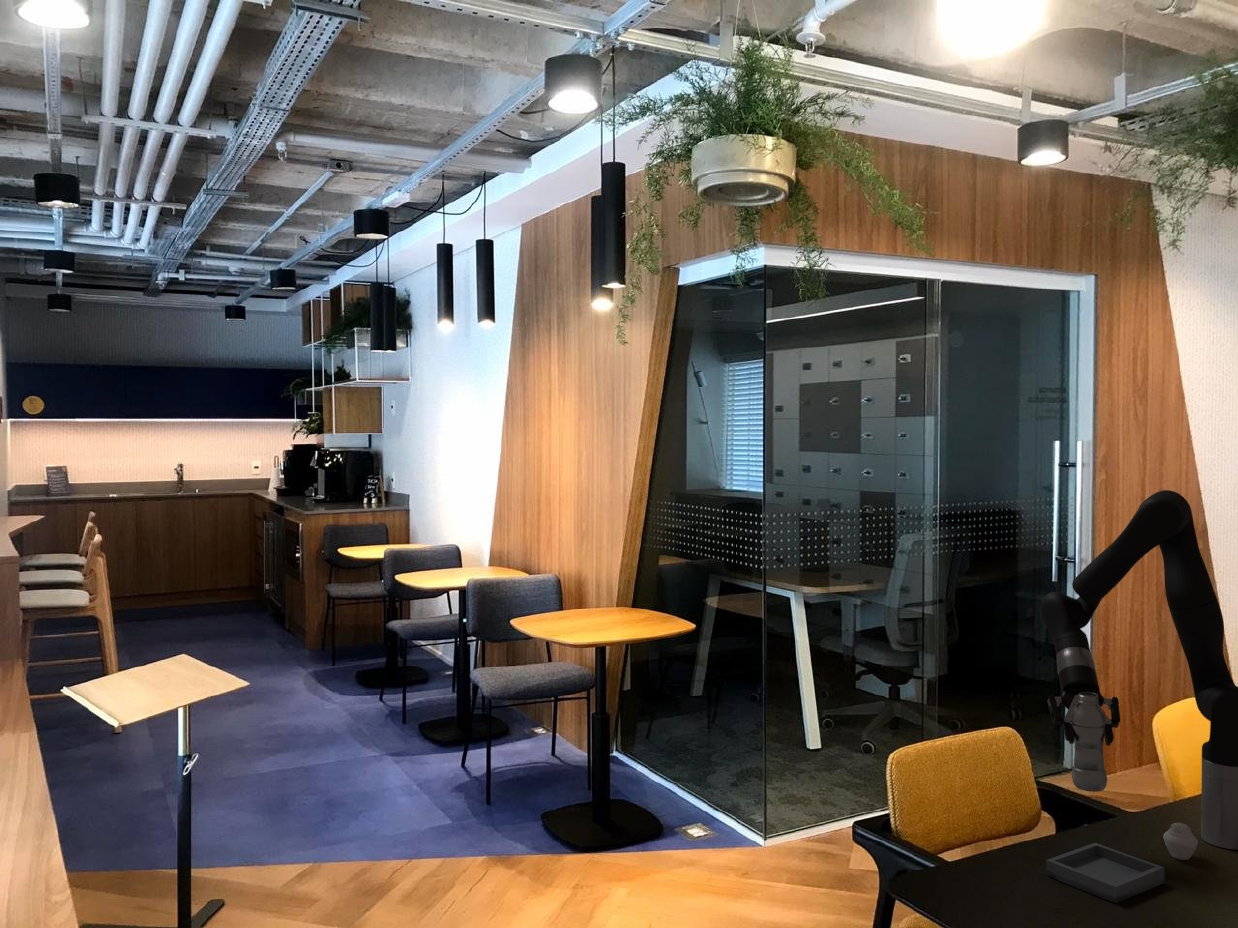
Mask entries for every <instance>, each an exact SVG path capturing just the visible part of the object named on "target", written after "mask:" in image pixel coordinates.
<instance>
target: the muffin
mask: <svg viewBox="0 0 1238 928" xmlns="http://www.w3.org/2000/svg"><path fill="white" fill-rule="evenodd" d="M1162 836H1163V840H1164V844H1165V846H1166V848H1167V850H1168V852H1169V854H1170V856H1171V857H1172V858H1174V859H1175V860H1180V861H1181V860H1182V861H1188V860H1189V859H1191V857H1192V856H1193V854H1194V853H1195V851H1196V850H1197V847H1198V845H1199V841H1198V838H1197V837H1195V835H1194V834H1193V832H1192V830H1191V828H1190V826H1189V825H1188V824H1185V823H1183V822H1174V823H1172V824H1171V825H1170V827H1169V829H1168V830H1166V832H1164V833H1163V835H1162Z"/></svg>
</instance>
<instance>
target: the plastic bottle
mask: <svg viewBox="0 0 1238 928" xmlns="http://www.w3.org/2000/svg"><path fill="white" fill-rule="evenodd" d="M1078 703H1079V706H1078V707H1077V708H1076V709H1075V711H1074V712H1073V713H1072V716H1071V723H1072V728H1073V734H1074V743H1073V745H1074V746H1073V747H1074V756H1073V766H1072V768H1071V769H1072V770H1071V779H1072V784H1073V785H1074V787H1076V788H1077V789H1079V790H1081V791H1085V792H1093V793H1094V792H1095V793H1097V792H1098V793H1099V792H1102V791H1104V790H1106V788H1107V786H1108V785H1107V784H1108V775H1107V770H1106V768H1105V758H1104V743H1105V738H1104V732H1105V725H1106V721H1105V718H1104V716H1103V714H1102V712H1101V711H1100V710H1099V708H1098V707H1097V705H1098V704H1099V702H1098V695H1097V694H1094V693H1087V692H1083V693H1079V694H1078Z"/></svg>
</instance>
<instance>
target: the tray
mask: <svg viewBox="0 0 1238 928" xmlns="http://www.w3.org/2000/svg"><path fill="white" fill-rule="evenodd" d="M1045 862H1046V865H1045V866H1046V867H1045V870H1046V873H1045V876H1047V877H1049V878H1052V879H1055V880H1057V881H1058V882H1062V883H1064V884H1065V885H1066V884H1067V885H1069V886H1071V887H1073V888H1076V889H1079V890H1081V891H1083V892H1087V893H1089V894H1091V895H1094V896H1096V897H1099V898H1102V899H1103V900H1106V901H1108V902H1110V903H1113V904H1118V903H1120V902H1122V901H1125V900H1127V899H1130V898H1132V897H1135V896H1137V895H1140V894H1141V893H1144V892H1146V891H1149V890H1151V889H1154V888H1157V887H1158V886H1161V885H1163V884H1165V867H1164V866H1162V865H1159V864H1156V863H1153V862H1150V861H1147V860H1144V859H1141V858H1140V857H1137V856H1133V855H1130V854H1129V853H1128V854H1127V853H1126V852H1122V851H1119V850H1117V849H1114V848H1111V847H1109V846H1105V845H1103V844H1100V843H1097V842H1093V843H1091V844H1090V843H1089V844H1088V845H1084V846H1082V847H1080V848H1077V849H1074V850H1071V851H1068V852H1065V853H1062V854H1060V855H1056V856H1054V857H1051V858H1049V859H1046V861H1045Z"/></svg>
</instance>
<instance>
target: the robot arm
mask: <svg viewBox="0 0 1238 928" xmlns="http://www.w3.org/2000/svg"><path fill="white" fill-rule="evenodd" d="M1193 516H1194V515H1193V512H1192V507H1191V506H1190V504H1189V502H1188V500H1187V499H1186V498H1185V497H1184V496H1183V495H1181V494H1180V493H1179V492H1176V491H1174V490H1167V489H1165V490H1160V491H1156V492H1154V493H1153V494H1151V495H1150V496H1148V497H1147V498H1146V499H1145V500H1143V501H1142V502H1141V504H1140V505H1139V507H1138V509H1137V510H1136V512H1135V513H1134V514H1133V517H1132V518H1131V519H1130V521H1129V522H1128V524H1127V525H1126V527H1125V528H1124V529H1123V530H1122V532H1121V533H1120V534H1119V535H1118V537H1117V538H1116V539H1114V541H1113V542H1112V543H1111V544H1109V545H1108V546H1107V547H1106V548H1105V549H1104V550H1103V551H1102V552H1101V553H1099V554H1098V555H1097V556H1096V557H1095V558H1094V559H1093V560H1092V561H1091V562H1089V563H1088V565H1086V566H1085V567H1084V568H1083V569H1082V571H1081V572H1079V574H1077V575H1076V577H1074V579H1073V580H1072V585H1071V586H1072V588H1073V591H1074V593H1075V594H1076V595H1077V596H1078V597H1077V598H1074V597H1071V596H1069V595H1067V594H1065V593H1062V592H1058V591H1052V592H1049V593H1047V594H1046V595H1045V596H1044V598H1043V599H1042V601H1041V602H1040V603H1041V604H1040V615H1041V618H1042V620H1043V624H1044V625H1045V628H1046V629H1047V632H1048V633H1049V636H1050V637H1051V639H1052V640H1053V641H1052V642H1053V643H1054V649H1055V650H1054V651H1055V655H1056V668H1057V675H1058V680H1059V685H1060V691H1061V696H1055V694H1049V695H1048V698H1047V702H1046V703H1047V706H1048V711H1049V713H1050V717H1051V721H1052V723H1053V725H1054V726H1061V727H1062V728H1063V732H1064V733H1063V734H1064V739H1065V740H1066V742H1068V743H1069V745H1071V744H1072V745H1074V734H1073V728H1072V723H1071V716H1072V713H1073V712H1074V711H1075V709H1076V708H1077V707H1078V706H1079V703H1078V694H1079V693H1083V692H1087V693H1094V694H1097V695H1098V702H1099V704H1098V705H1097V707H1098V708H1099V710H1100V711H1101V712H1102V714H1103V716H1104V718H1105V721H1106V725H1105V732H1104V743H1105V746H1108V747H1109V746H1111V744H1113V743H1114V739H1115V735H1114V732H1113V728H1115V729H1116V728H1117V729H1118V728H1119V726H1120V722H1121V713H1120V704H1119V703H1120V702H1119V698H1118V697H1117V696H1112V698H1107V697H1104V696H1103V695H1102V693H1101V690H1100V686H1099V685H1100V684H1099V681H1098V680H1099V679H1098V675H1097V670H1096V666H1095V661H1094V659H1093V657H1092V653H1091V648H1090V645H1089V639H1088V635H1087V634H1086V632H1085V631H1083V630H1082V629H1083V628H1084V627H1086V626H1088V624H1089V623H1090V621H1091V620H1092V618H1093V615H1094V614H1095V612H1096V610H1097V609H1098V606H1099V605H1100V603H1101V601H1102V600H1103V599H1104V598H1105V597H1106V596H1107V595H1108V594H1109V593H1110V592H1111V591H1112V590H1114V588H1115V587H1116V586H1118V584H1119V583H1120V582H1121V581H1122V580H1123V579H1124V577H1126V576H1127V574H1128V573H1129V572H1130V570H1131V569H1132V568H1133V567H1134V566H1135V565H1136V564H1137V563H1138V562H1139V561H1140V560H1142V558H1143V557H1144V556H1146V554H1148V553H1149V552H1150V551H1152V550H1153V549H1155V548H1156V547H1158V546H1159V548H1160V552H1161V557H1162V561H1163V571H1164V572H1163V574H1164V577H1163V578H1164V589H1165V590H1164V591H1165V592H1164V593H1165V598H1166V602H1167V606H1168V609H1169V612H1170V615H1171V616H1170V617H1171V619H1172V622H1173V624H1174V627H1175V630H1176V633H1177V636H1178V638H1179V643H1180V645H1181V648H1182V650H1183V653H1184V656H1185V658H1186V661H1187V665H1188V669H1189V673H1190V678H1191V684H1192V689H1193V693H1194V699H1195V703H1196V707H1197V709H1198V711H1199V713H1200V714H1201V715H1202V716H1203V717H1204V718H1205V719H1206V720H1208V721H1209V722H1210V723H1209V724H1210V726H1209V739H1208V741H1205V742H1203V744H1202V745H1201V797H1200V798H1201V800H1200V801H1201V805H1200V806H1201V810H1200V811H1201V813H1200V814H1201V818H1200V820H1201V821H1200V828H1201V829H1200V837H1201V839H1202V841H1204V842H1206V843H1207V844H1209V845H1212V846H1215V847H1218V848H1223V849H1228V850H1234V851H1235V850H1237V851H1238V686H1237V685H1236V684H1235V682H1234V680H1233V678H1232V675H1231V673H1230V670H1229V668H1228V665H1227V663H1226V662H1227V661H1226V658H1225V654H1224V636H1225V623H1224V617H1223V613H1222V610H1221V607H1220V604H1219V601H1218V597H1217V594H1216V592H1215V589H1214V586H1213V583H1212V580H1211V577H1210V575H1209V573H1208V569H1207V567H1206V564H1205V562H1204V559H1203V557H1202V554H1201V551H1200V548H1199V542H1198V537H1197V533H1196V528H1195V523H1194V519H1193V518H1194V517H1193ZM1060 703H1061V705H1062V706H1064V707H1065V708H1066V709H1067V713H1066V714H1065V717H1063V716H1061V713H1060V710H1059V707H1060ZM1103 705H1105V706H1106V708H1107V709H1108V710H1110V717H1111V719H1110V718H1109V717H1108V716H1107V714H1106V711H1105V710H1104V708H1102V706H1103Z"/></svg>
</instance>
